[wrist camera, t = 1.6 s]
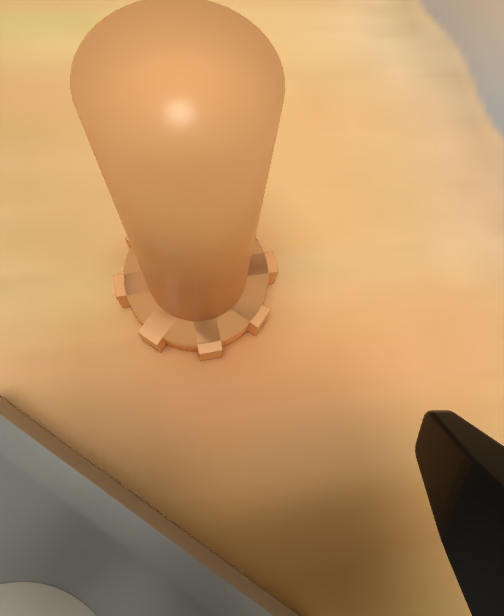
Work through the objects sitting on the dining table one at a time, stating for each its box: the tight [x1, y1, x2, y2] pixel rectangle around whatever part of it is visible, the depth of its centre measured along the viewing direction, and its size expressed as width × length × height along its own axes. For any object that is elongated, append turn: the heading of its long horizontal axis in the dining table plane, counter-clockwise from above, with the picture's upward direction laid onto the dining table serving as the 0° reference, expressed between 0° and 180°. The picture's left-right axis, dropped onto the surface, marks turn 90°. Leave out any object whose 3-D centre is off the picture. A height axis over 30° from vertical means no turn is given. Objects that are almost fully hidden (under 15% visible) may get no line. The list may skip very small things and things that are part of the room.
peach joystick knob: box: [70, 0, 285, 361], centre depth 16 cm, size 7×7×13 cm
